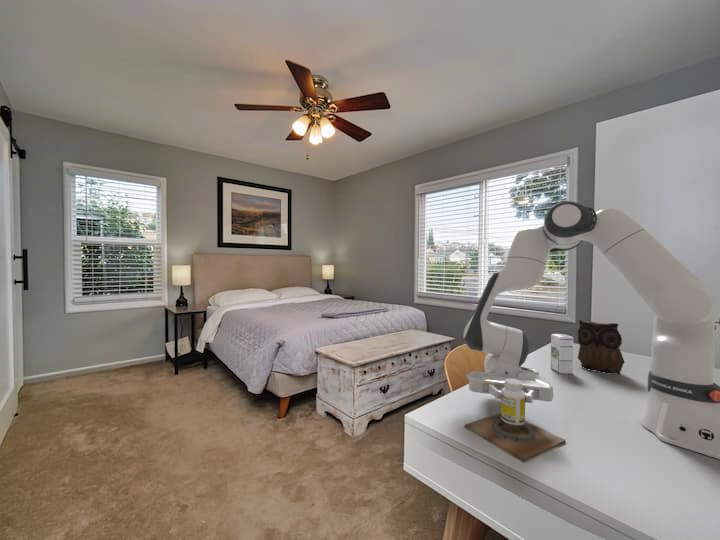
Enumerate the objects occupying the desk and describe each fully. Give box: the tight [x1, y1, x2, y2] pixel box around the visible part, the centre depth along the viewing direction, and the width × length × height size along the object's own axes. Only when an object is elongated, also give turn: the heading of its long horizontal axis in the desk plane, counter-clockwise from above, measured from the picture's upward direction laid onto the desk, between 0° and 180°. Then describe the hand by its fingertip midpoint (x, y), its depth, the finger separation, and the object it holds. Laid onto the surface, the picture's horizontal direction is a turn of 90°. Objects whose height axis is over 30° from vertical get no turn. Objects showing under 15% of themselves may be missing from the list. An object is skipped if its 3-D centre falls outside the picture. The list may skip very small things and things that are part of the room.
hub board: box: [464, 412, 566, 463], centre depth 76 cm, size 16×16×2 cm
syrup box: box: [550, 333, 574, 374], centre depth 124 cm, size 6×6×14 cm
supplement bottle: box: [500, 379, 526, 425], centre depth 76 cm, size 5×5×10 cm
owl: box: [577, 319, 625, 375], centre depth 127 cm, size 13×13×20 cm
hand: (513, 397), depth 76 cm, fingers closed on supplement bottle, 5 cm apart
